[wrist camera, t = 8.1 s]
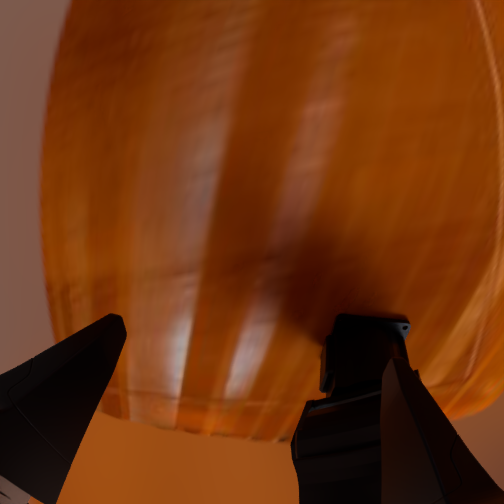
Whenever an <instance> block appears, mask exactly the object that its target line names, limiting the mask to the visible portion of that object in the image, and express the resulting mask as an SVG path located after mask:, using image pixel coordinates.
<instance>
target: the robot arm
mask: <svg viewBox="0 0 504 504" xmlns="http://www.w3.org/2000/svg"><path fill="white" fill-rule="evenodd" d="M339 320H343V321H339ZM403 326H405V327H403ZM410 328H411V326H410V322H409V321H407V320H399V319H387V318H377V317H366V316H357V315H347V314H339V315H337V316H336V318H335V322H334V326H333V329H332V333H331V335H328V336H326V339H325V343H324V346H323V350H322V354H321V368H320V386H319V390H320V391H321V392H322V393H326V398H323V399H319V400H309V401H307V402H306V405H305V407H304V410H303V412H302V415H301V418H300V420H299V423H298V425H297V428H296V430H295V433H294V435H293V438H292V441H291V453H292V460H293V464H294V467H295V470H296V473H297V477H298V484H299V504H504V491H503V490H502V489H501V488H500V487H499V486H498V485H497V484H496V483H495V482H494V480H493V479H492V478H491V477H490V476H489V474H488V473H487V472H486V471H485V469H484V468H483V467H482V466H481V465H480V463H479V462H478V461H477V460H476V458H475V457H474V456H473V454H472V453H471V452H470V451H469V449H468V448H467V446H466V445H465V443H464V442H463V440H462V439H461V437H460V436H459V435H457V432H456V430H455V429H454V427H453V426H452V424H451V423H450V421H449V420H448V418H447V417H446V416H445V414H444V413H443V411H442V410H441V408H440V407H439V406H438V404H437V403H436V401H435V400H434V399H433V397H432V396H431V394H430V393H429V392H428V390H427V389H426V387H425V386H424V385H423V383H422V381H421V378H420V374H419V371H418V369H417V370H414V371H413V370H412V368H411V367H410V364H409V359H408V354H407V350H406V345H405V339H406V337H407V335H408V332H409V330H410ZM126 337H127V332H126V328H125V325H124V322H123V318H122V317H121V316H120V315H117V314H113V313H110V314H108V315H106V316H105V317H103V318H101V319H99V320H97V321H96V322H94V323H92V324H90V325H89V326H87V327H85V328H83V329H82V330H80V331H78V332H76V333H75V334H73V335H71V336H69V337H68V338H66V339H64V340H62V341H61V342H59V343H57V344H55V345H54V346H52V347H50V348H49V349H47V350H45V351H43V352H42V353H40V354H38V355H37V356H35V357H34V358H31V359H29V360H28V361H26V362H24V363H22V364H21V365H19V366H17V367H15V368H13V369H11V370H9V371H7V372H5V373H3V374H1V375H0V504H28V501H29V499H30V497H31V496H32V497H34V498H35V499H37V500H39V501H40V502H42V503H44V504H56V502H57V500H58V497H59V494H60V492H61V489H62V487H63V484H64V482H65V479H66V477H67V474H68V472H69V470H70V467H71V464H72V462H73V459H74V457H75V455H76V453H77V450H78V448H79V446H80V443H81V441H82V439H83V437H84V434H85V432H86V430H87V428H88V425H89V423H90V421H91V419H92V417H93V414H94V412H95V410H96V408H97V406H98V404H99V402H100V400H101V397H102V395H103V393H104V391H105V389H106V387H107V385H108V383H109V381H110V379H111V377H112V375H113V372H114V370H115V367H116V364H117V362H118V359H119V356H120V353H121V351H122V348H123V345H124V343H125V340H126Z"/></svg>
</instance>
